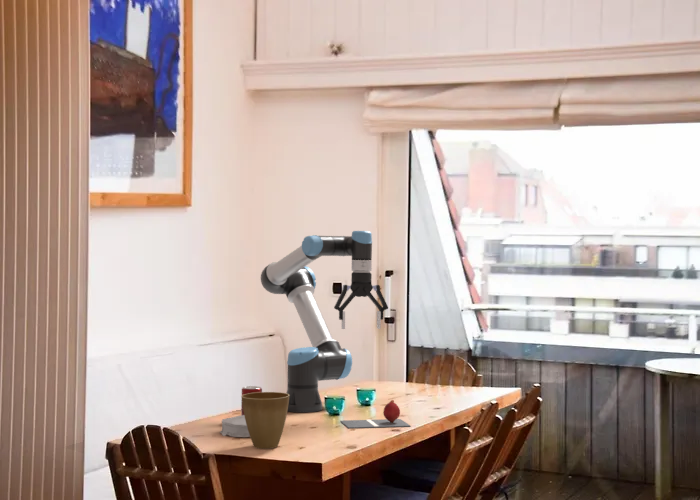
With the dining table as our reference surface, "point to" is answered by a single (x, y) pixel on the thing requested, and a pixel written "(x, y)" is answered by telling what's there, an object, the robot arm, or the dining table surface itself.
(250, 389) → the soda can
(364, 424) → the mat
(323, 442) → the dining table surface
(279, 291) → the robot arm
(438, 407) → the dining table surface
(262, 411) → the plant pot
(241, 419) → the food container
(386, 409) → the onion
